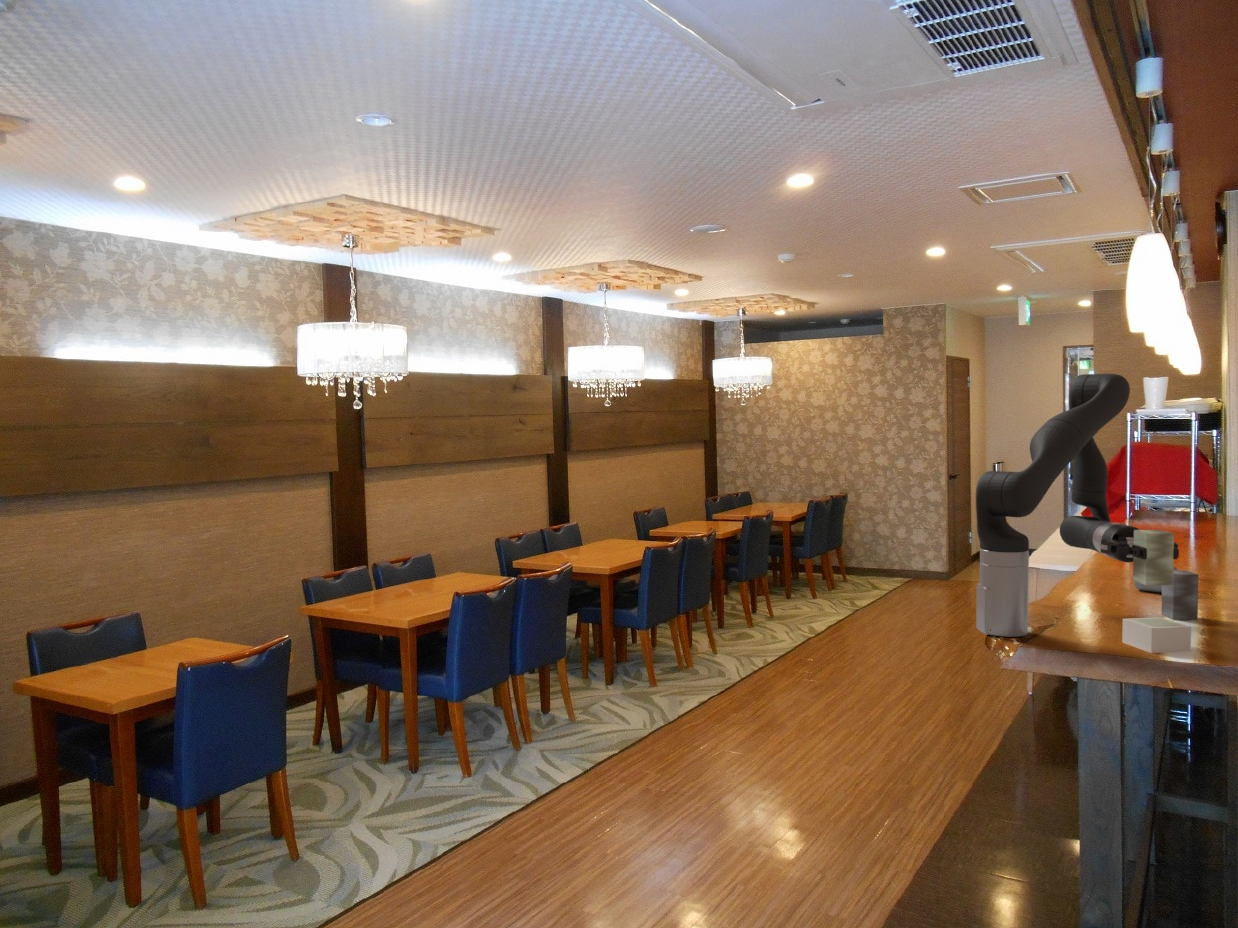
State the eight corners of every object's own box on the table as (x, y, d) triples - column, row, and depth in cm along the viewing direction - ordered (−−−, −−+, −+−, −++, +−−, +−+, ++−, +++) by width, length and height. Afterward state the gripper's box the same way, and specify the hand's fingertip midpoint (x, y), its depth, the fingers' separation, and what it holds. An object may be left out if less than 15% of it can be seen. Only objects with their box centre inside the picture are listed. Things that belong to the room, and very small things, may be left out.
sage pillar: (1145, 585, 169) (1146, 533, 168) (1133, 580, 174) (1133, 529, 173) (1173, 585, 168) (1174, 533, 168) (1159, 580, 173) (1160, 529, 173)
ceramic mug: (1168, 596, 216) (1169, 565, 216) (1132, 591, 222) (1133, 561, 222) (1185, 591, 223) (1186, 561, 222) (1150, 586, 229) (1151, 557, 229)
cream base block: (1151, 654, 165) (1151, 627, 165) (1122, 643, 173) (1122, 618, 173) (1190, 652, 166) (1191, 626, 166) (1159, 641, 174) (1160, 616, 174)
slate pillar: (1173, 619, 191) (1173, 574, 191) (1161, 614, 196) (1162, 570, 196) (1197, 620, 191) (1198, 574, 190) (1185, 615, 196) (1186, 570, 195)
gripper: (1083, 523, 186) (1121, 534, 169) (1155, 523, 184) (1200, 534, 167) (1083, 559, 186) (1120, 573, 169) (1154, 559, 185) (1200, 573, 168)
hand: (1160, 553), depth 168 cm, fingers closed on sage pillar, 5 cm apart
